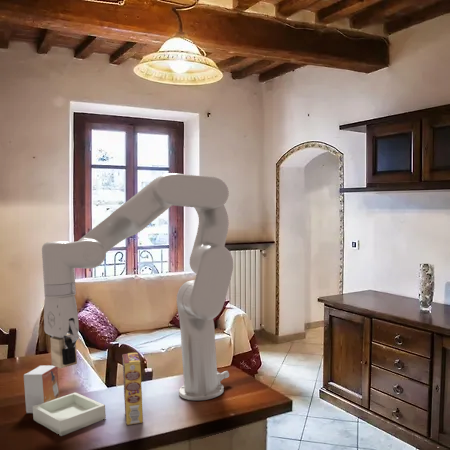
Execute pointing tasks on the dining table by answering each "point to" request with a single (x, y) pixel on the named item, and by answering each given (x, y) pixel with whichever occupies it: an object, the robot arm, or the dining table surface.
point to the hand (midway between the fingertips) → (64, 360)
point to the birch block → (59, 352)
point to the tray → (69, 413)
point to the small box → (40, 386)
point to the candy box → (132, 388)
